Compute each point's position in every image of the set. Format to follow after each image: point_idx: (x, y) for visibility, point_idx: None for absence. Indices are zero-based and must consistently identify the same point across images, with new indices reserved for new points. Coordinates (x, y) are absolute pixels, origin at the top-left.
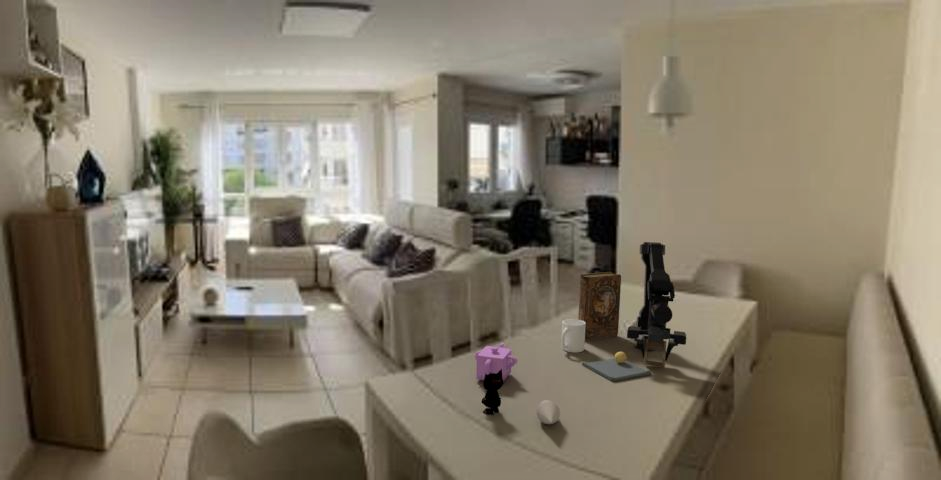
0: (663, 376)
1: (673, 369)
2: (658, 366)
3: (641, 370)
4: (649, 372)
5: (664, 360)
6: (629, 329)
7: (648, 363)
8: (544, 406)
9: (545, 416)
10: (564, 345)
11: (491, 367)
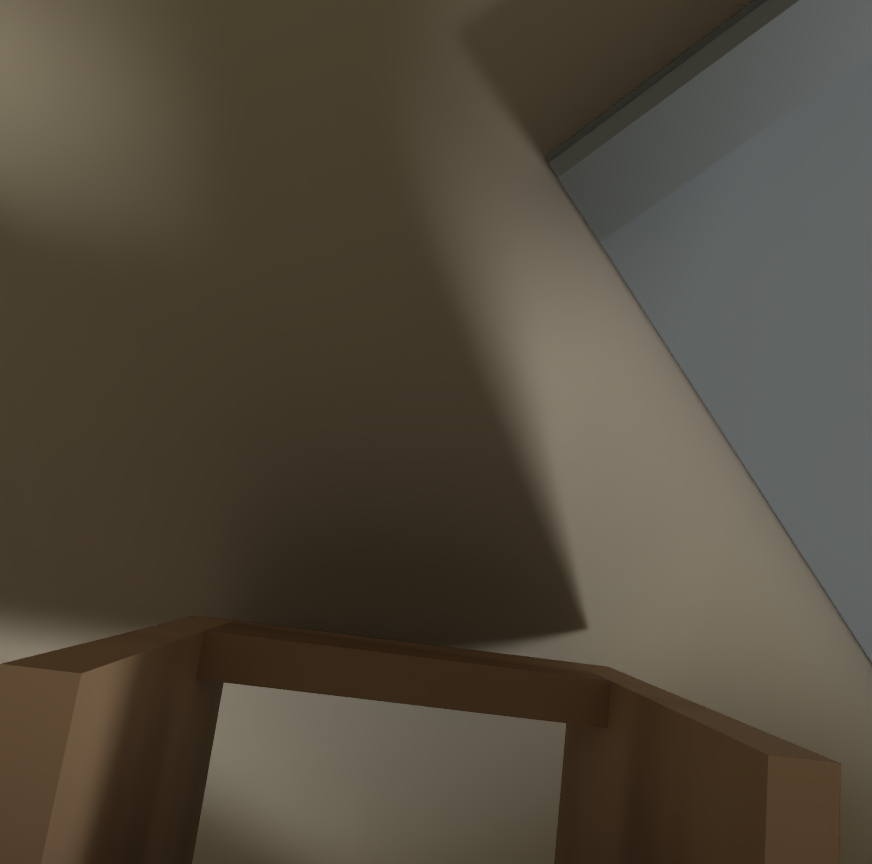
0: (203, 80)
1: (26, 586)
2: (322, 632)
3: (786, 318)
4: (621, 116)
5: (97, 646)
6: None
7: (541, 664)
8: None
9: None
10: None
11: None
